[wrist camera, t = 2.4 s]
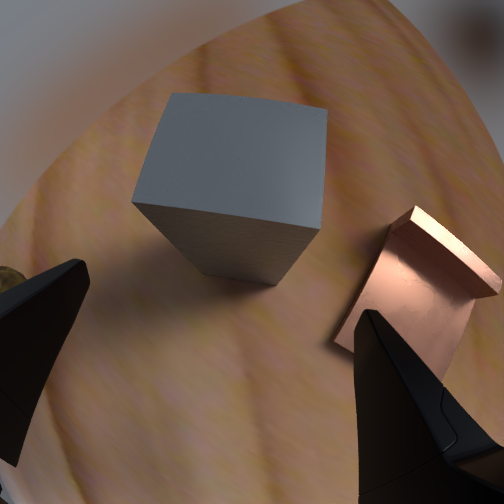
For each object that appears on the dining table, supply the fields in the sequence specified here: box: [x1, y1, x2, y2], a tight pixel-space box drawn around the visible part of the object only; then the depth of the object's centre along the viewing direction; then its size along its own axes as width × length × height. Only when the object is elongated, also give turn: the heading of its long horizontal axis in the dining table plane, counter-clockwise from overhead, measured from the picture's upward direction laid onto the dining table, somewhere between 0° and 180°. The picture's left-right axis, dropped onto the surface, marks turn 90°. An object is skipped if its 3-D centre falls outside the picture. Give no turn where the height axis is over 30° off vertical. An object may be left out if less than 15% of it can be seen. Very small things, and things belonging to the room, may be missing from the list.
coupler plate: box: [331, 205, 502, 381], centre depth 17 cm, size 10×10×4 cm
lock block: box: [131, 93, 327, 286], centre depth 14 cm, size 4×5×12 cm
